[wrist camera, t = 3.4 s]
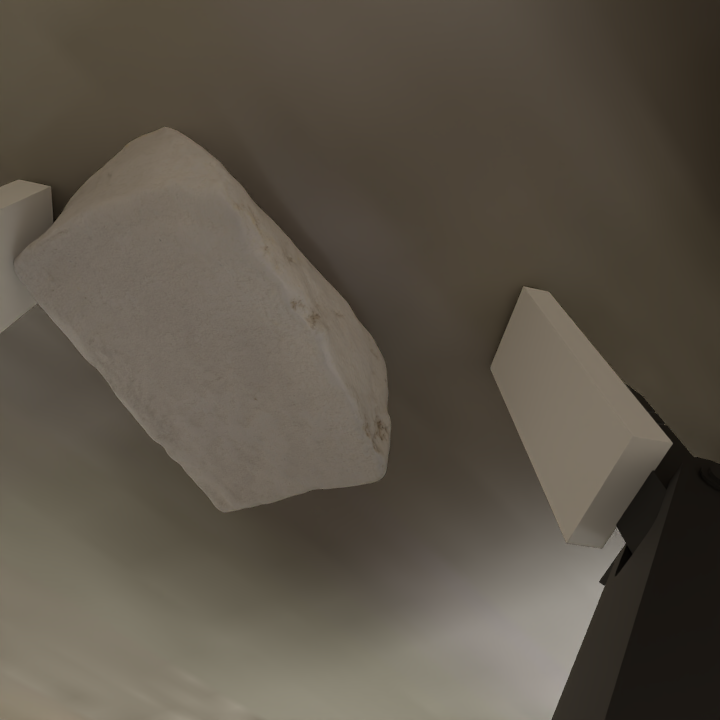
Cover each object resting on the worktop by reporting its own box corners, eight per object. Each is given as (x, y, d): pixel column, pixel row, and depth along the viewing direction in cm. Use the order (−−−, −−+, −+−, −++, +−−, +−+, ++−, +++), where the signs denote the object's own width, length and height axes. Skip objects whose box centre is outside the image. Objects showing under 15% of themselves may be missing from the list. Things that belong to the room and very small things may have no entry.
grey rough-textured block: (144, 184, 17) (-46, 196, 12) (305, 85, 14) (143, 43, 9) (272, 458, 19) (157, 571, 14) (437, 422, 16) (368, 548, 11)
